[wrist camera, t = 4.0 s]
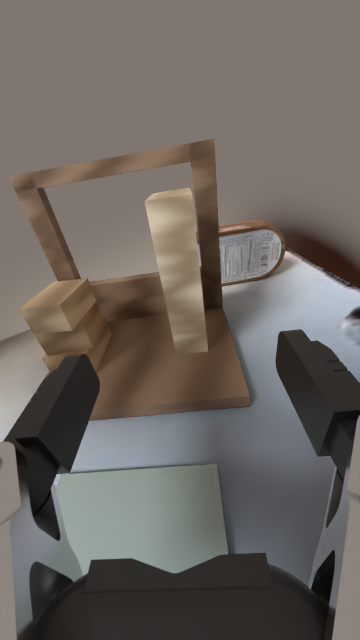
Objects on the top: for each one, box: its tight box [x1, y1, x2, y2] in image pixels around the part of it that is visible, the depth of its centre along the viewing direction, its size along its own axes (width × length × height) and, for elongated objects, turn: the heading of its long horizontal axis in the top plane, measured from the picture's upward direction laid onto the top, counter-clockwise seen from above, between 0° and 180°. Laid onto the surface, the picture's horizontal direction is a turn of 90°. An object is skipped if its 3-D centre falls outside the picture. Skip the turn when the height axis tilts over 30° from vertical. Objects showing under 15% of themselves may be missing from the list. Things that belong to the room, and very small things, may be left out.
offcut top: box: [19, 278, 96, 334], centre depth 20 cm, size 4×5×2 cm
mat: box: [56, 464, 228, 575], centre depth 10 cm, size 10×10×1 cm
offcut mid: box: [35, 300, 102, 356], centre depth 22 cm, size 4×6×2 cm
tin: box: [196, 220, 286, 286], centre depth 33 cm, size 15×3×8 cm, turn 95°
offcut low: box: [42, 316, 112, 372], centre depth 23 cm, size 4×6×2 cm, turn 0°
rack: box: [9, 139, 250, 421], centre depth 19 cm, size 18×14×17 cm
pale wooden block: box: [145, 188, 208, 355], centre depth 20 cm, size 3×6×13 cm, turn 0°
